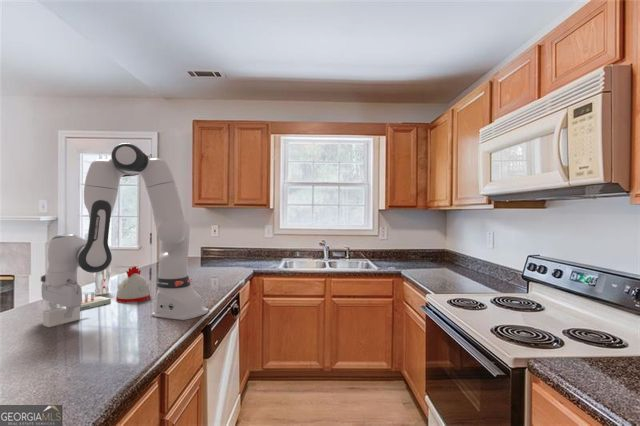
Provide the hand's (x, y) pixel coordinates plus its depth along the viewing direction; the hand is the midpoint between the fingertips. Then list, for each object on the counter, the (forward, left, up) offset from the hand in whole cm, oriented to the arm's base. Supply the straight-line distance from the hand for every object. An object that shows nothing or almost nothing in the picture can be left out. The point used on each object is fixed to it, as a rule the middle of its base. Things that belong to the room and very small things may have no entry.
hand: (61, 315), depth 123 cm
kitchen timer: (+8, -34, -3) cm, 35 cm away
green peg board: (+13, -16, -2) cm, 21 cm away
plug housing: (-1, -2, -2) cm, 3 cm away
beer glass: (+29, -32, -3) cm, 44 cm away
